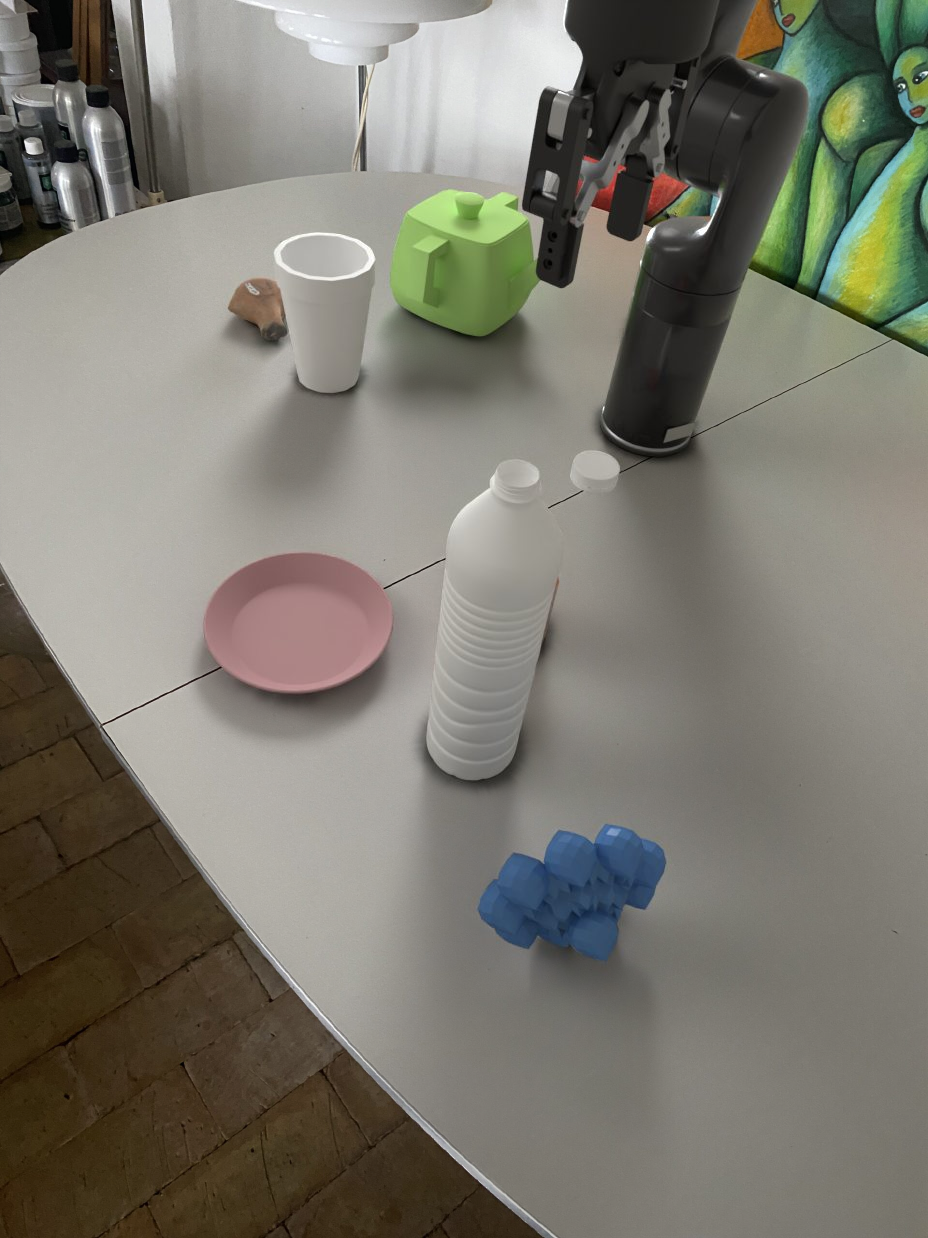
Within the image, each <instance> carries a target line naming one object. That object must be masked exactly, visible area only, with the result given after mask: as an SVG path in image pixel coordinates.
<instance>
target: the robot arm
mask: <svg viewBox="0 0 928 1238" xmlns="http://www.w3.org/2000/svg"><path fill="white" fill-rule="evenodd" d="M758 2H759V0H566V1H565V7H564V13H563V23H562V24H563V29H564V32H565V34H566V35H567V37H568V38H569V39H570V40H571V41H572V42H574V43H576V45H577V46H578V48H579V50H580V52H581V55H582V60H581V63H580V66H579V70H578V73H577V76H576V79H575V81H574V83H573V87H572V90H568V91H565V90H561V89H559V88H556V87H553V86H550V85H546V86H545V87H544V88H543V90H542V91H541V93H540V96H539V98H538V99H539V100H538V103H537V104H538V105H537V110H536V117H535V121H534V123H535V124H534V128H533V135H532V139H531V140H532V141H531V146H530V153H529V159H528V164H527V170H526V177H525V182H524V190H523V194H522V200H521V208H522V211H524V212H526V213H528V214H531V215H533V216H536V217H539V218H541V219H542V228H541V233H540V242H539V246H538V252H537V258H538V259H537V258H536V259H537V265H536V275H537V277H538V278H539V279H540V281H542V282H544V283H546V284H548V285H551V286H554V287H556V288H558V289H565V288H566V287H568V286H569V285H570V284H572V283H573V282H574V280H575V274H576V269H577V263H578V259H579V255H580V248H581V243H582V237H583V233H584V227H585V223H584V221H585V220H586V218H587V215H588V213H589V210H590V209H591V207H592V204H593V202H594V200H595V199H596V196H597V193H598V192H599V191H601V190H604V189H607V188H608V187H609V186H610V185H611V184H612V182H613V179H614V178H615V175H616V178H615V183H614V188H613V192H612V197H611V201H610V207H609V210H608V211H609V212H608V215H607V216H608V217H607V221H606V226H605V227H606V231H607V232H608V234H610V235H611V236H614V237H617V238H619V239H622V240H623V241H626V242H634V241H636V240H637V239H638V238H639V237H640V236H641V235H642V233H643V228H644V225H645V220H646V216H647V212H648V207H649V204H650V199H651V195H652V191H653V188H654V183H655V180H654V179H658V178H659V177H660V176H661V175H662V174H663V175H665V176H667V177H668V178H671V179H673V180H675V181H678V182H680V183H683V184H685V185H687V186H689V187H691V188H694V189H696V190H699V191H701V192H704V193H706V194H709V195H711V196H714V197H716V198H718V200H717V203H716V206H715V209H714V211H713V213H712V215H704V216H703V215H687V216H686V215H684V216H678V215H677V216H676V215H674V214H670V216H669V214H668V213H667V211H666V210H664V212H663V214H662V215H663V216H664V217H667V218H668V217H669V218H668V219H665V220H662V221H660V222H658V223H656V224H655V225H654V226H653V227H652V228H651V229H650V230H649V232H648V234H647V236H646V238H645V242H644V246H643V249H642V254H641V259H640V262H639V265H638V270H637V273H636V278H635V282H634V285H633V290H632V294H631V299H630V303H629V306H628V311H627V315H626V319H625V323H624V326H623V331H622V335H621V339H620V342H619V347H618V350H617V354H616V359H615V362H614V365H613V371H612V375H611V377H610V378H611V379H610V383H609V386H608V390H607V394H606V398H605V402H604V406H603V408H602V410H601V415H600V419H599V425H600V428H601V431H602V433H603V434H604V435H605V437H606V438H607V439H608V440H610V441H611V442H612V443H613V444H615V445H616V446H618V447H619V448H621V449H623V450H626V451H627V452H630V453H634V454H637V455H640V456H641V455H642V456H646V457H647V456H648V457H665V456H666V457H667V456H672V455H675V454H677V453H679V452H681V451H683V450H684V449H685V448H686V447H687V446H688V445H689V443H690V440H691V437H692V434H693V431H694V428H695V426H696V423H697V422H696V419H697V417H698V414H699V411H700V408H701V405H702V403H703V401H704V397H705V394H706V391H707V389H708V385H709V383H710V380H711V377H712V374H713V371H714V368H715V365H716V362H717V360H718V357H719V354H720V351H721V348H722V345H723V342H724V339H725V336H726V333H727V332H728V327H729V325H730V322H731V318H732V317H733V313H734V310H735V307H736V304H737V301H738V299H739V295H740V293H741V289H742V287H743V285H744V282H745V279H746V275H747V273H748V270H749V267H750V265H751V263H752V261H753V259H754V257H755V255H756V252H757V251H758V248H759V247H760V244H761V242H762V239H763V237H764V235H765V231H766V230H767V226H768V224H769V222H770V218H771V216H772V213H773V211H774V208H775V205H776V202H777V201H778V198H779V195H780V194H781V193H780V192H781V190H782V189H783V186H784V183H785V181H786V178H787V176H788V173H789V171H790V169H791V167H792V164H793V162H794V159H795V157H796V154H797V152H798V148H799V146H800V143H801V141H802V138H803V135H804V132H805V128H806V125H807V122H808V115H809V110H810V106H809V105H810V96H809V91H808V89H807V86H806V85H805V84H804V83H803V81H801V80H800V79H798V78H797V77H794V76H791V75H788V74H786V73H782V72H779V71H777V70H775V69H772V68H768V67H765V66H762V65H759V64H757V63H753V62H750V61H748V60H745V59H742V58H739V57H737V55H738V52H739V48H740V45H741V42H742V39H743V36H744V34H745V32H746V29H747V26H748V24H749V21H750V19H751V17H752V15H753V13H754V10H755V9H756V7H757V4H758ZM584 157H587V158H589V159H592V160H595V161H596V162H594V161H590V160H586V159H585V158H584ZM619 166H621V167H623V168H625V169H621V170H619V171H618V169H619ZM617 171H618V172H617ZM547 172H550V175H549V177H548V180H547V182H546V184H545V180H546V176H547V174H546V173H547ZM579 181H582V183H581V185H580V188H579V190H578V193H577V189H578V184H579Z"/></svg>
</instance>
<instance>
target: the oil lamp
mask: <svg viewBox="0 0 928 1238" xmlns="http://www.w3.org/2000/svg"><path fill="white" fill-rule="evenodd" d="M227 310H228V311H229V312H230V313H233V314H234V315H236V316H238V317H239V318H241V319H243V320H245V321H248V322H250V323H252V324H254V325H257V327H258V328H259V330H260V337H261V338H262V339H264V340H266V341H268V342H274V341H277V340H280V339H282V338H284V337H286V336H287V335H288V328H287V327H286V326H285V324H284V321H283V319H284V318H286V315H285V310H284V305H283V300H282V296H281V291H280V288H279V287H278V286H277V281H276V280H274V279H271V278H267V277H253V278H249V279H246V280H244V281H243V282H241V284H239V285H238V286H237V287H236V289H235V290H234V293H233V295H232V297H231V299H230V301H229V303H228V306H227Z"/></svg>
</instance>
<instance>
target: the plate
mask: <svg viewBox="0 0 928 1238" xmlns="http://www.w3.org/2000/svg"><path fill="white" fill-rule="evenodd" d="M393 628H394V611H393V607H392V603H391V600H390V598H389V596H388V594H387V592H386V590H385V589H384V587H383V586H382V585H381V584H380V582H379V581H378V580H377V579H376V578H375V577H374V576H373V575H372V574H371V573H370V572H368V571H367V570H365V569H364V568H362V567H361V566H359V565H357V564H355V562H354V563H353V562H351V561H349V560H347V559H344V558H342V557H338V556H335V555H331V554H327V553H321V552H312V551H294V552H293V551H292V552H283V553H279V554H273V555H270V556H266V557H261V558H260V559H257V560H254V561H252V562H250V563H248V564H246V565H244V566H243V567H240V568H239V569H237V570H236V571H234V572H233V573H232V574H230V575H229V576H227V577H226V579H224V580H223V581H222V582H221V583H220V585H218V586H217V588H216V589H215V591H214V592H213V594H212V595H211V597H210V599H209V600H208V603H207V605H206V608H205V611H204V615H203V621H202V629H203V638H204V641H205V644H206V646H207V649H208V650H209V653H210V654H211V657H212V658H213V659H214V660H215V662H216V663H217V664H218V665H219V666H220V667H221V668H222V669H223V670H224V671H225V672H226V673H227V674H229V675H230V676H232V677H233V678H234V679H236V680H238V681H240V682H242V683H244V684H246V685H248V686H251V687H253V688H256V689H259V690H262V691H266V692H272V693H277V694H289V695H291V694H293V695H295V694H298V695H299V694H309V693H317V692H321V691H322V692H323V691H325V690H329V689H333V688H336V687H339V686H341V685H344V684H345V683H348V682H350V681H352V680H354V679H356V678H358V677H359V676H360V675H362V674H363V673H365V672H366V671H367V670H368V669H369V668H371V667H372V666H373V665H374V664H375V663H376V662H377V660H379V658H380V657H381V656H382V654H383V653H384V652H385V650H386V648H387V646H388V645H389V642H390V640H391V637H392V632H393Z"/></svg>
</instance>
